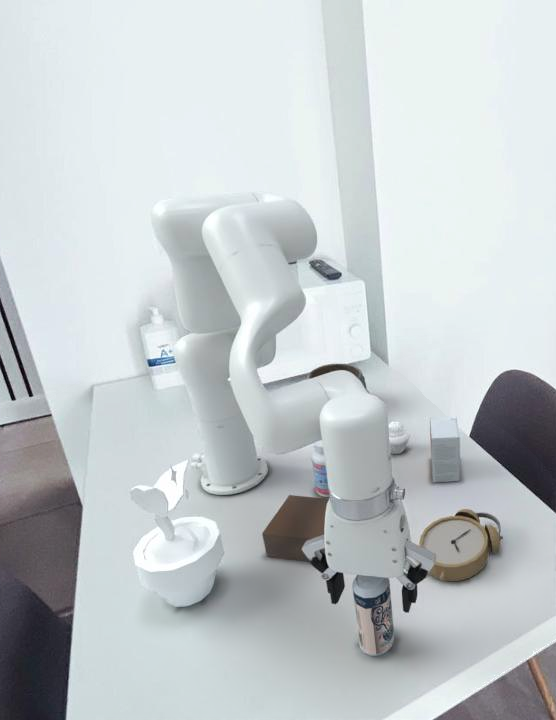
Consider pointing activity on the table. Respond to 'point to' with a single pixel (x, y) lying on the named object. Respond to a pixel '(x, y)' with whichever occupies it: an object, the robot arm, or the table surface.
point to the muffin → (397, 437)
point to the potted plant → (176, 544)
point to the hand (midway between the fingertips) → (373, 599)
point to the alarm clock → (460, 544)
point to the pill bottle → (320, 470)
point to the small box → (445, 449)
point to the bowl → (336, 367)
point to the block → (295, 527)
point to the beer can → (373, 614)
